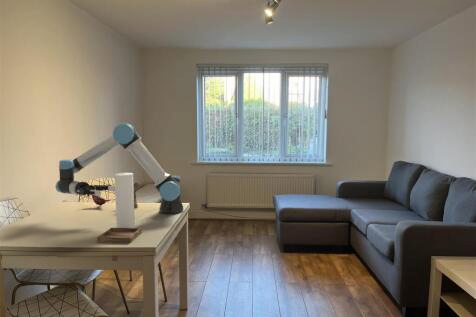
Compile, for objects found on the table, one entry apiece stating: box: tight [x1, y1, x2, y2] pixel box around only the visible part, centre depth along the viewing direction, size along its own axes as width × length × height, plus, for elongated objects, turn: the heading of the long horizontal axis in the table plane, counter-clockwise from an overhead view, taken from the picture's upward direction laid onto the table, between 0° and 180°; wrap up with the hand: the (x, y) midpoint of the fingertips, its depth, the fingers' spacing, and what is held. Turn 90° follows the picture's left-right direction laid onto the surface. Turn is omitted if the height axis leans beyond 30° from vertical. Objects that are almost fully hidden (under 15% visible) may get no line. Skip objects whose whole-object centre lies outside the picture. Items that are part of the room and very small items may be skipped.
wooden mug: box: [133, 182, 140, 209], centre depth 243 cm, size 9×14×18 cm, turn 42°
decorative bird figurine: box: [91, 195, 111, 208], centre depth 245 cm, size 3×18×10 cm, turn 65°
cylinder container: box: [114, 172, 136, 228], centre depth 197 cm, size 9×9×30 cm
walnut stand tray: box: [97, 227, 143, 244], centre depth 182 cm, size 16×16×2 cm
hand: (109, 191), depth 200 cm, fingers open, 13 cm apart
